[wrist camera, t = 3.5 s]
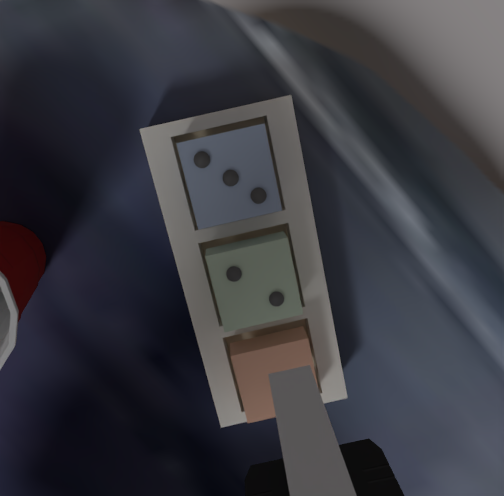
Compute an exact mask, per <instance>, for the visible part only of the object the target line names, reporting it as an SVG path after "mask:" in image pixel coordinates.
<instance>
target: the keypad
mask: <svg viewBox="0 0 504 496" xmlns="http://www.w3.org/2000/svg"><path fill="white" fill-rule="evenodd" d="M259 124H265V129H266V133H267V138H268V143H269V148H270V153H271V158H272V163H273V168H274V173H275V178H276V183H277V188H278V192H279V197H280V202H281V207H282V211H278V212H273V213H269V214H265V215H260V216H256V217H251V218H247V219H243V220H238V221H234V222H230V223H225V224H221V225H217V226H212V227H208V228H203V229H199V230H198V226H197V223H196V219H195V215H194V211H193V207H192V203H191V199H190V195H189V191H188V187H187V183H186V179H185V176H184V172H183V168H182V164H181V160H180V156H179V152H178V148H177V144H176V143H180V142H184V141H188V140H193V139H197V138H202V137H206V136H211V135H215V134H219V133H224V132H228V131H233V130H237V129H242V128H246V127H250V126H255V125H259ZM139 130H140V134H141V137H142V141H143V145H144V148H145V152H146V156H147V159H148V163H149V166H150V170H151V174H152V177H153V181H154V185H155V188H156V192H157V196H158V199H159V203H160V207H161V210H162V214H163V218H164V221H165V225H166V229H167V232H168V236H169V240H170V243H171V247H172V250H173V254H174V258H175V261H176V265H177V269H178V272H179V276H180V280H181V283H182V287H183V291H184V294H185V298H186V302H187V305H188V309H189V313H190V316H191V320H192V324H193V327H194V331H195V334H196V338H197V342H198V345H199V349H200V353H201V356H202V360H203V364H204V367H205V371H206V375H207V378H208V382H209V386H210V389H211V393H212V397H213V400H214V404H215V408H216V411H217V415H218V418H219V422H220V426H221V428H222V427H226V426H230V425H235V424H239V423H243V422H247V418H246V415H245V411H244V407H243V403H242V399H241V395H240V391H239V387H238V383H237V379H236V375H235V371H234V368H233V364H232V360H231V354H230V343H233V342H237V341H241V340H246V339H250V338H254V337H259V336H263V335H267V334H271V333H276V332H280V331H284V330H289V329H293V328H297V327H302V326H303V327H304V330H305V332H306V334H307V337H308V340H309V345H310V350H311V355H312V360H313V364H314V369H315V374H316V379H317V384H318V389H319V392H320V395H321V397H322V400H323V403H328V402H333V401H337V400H341V399H345V398H347V393H346V387H345V382H344V376H343V371H342V366H341V360H340V355H339V349H338V344H337V339H336V333H335V328H334V322H333V317H332V312H331V306H330V301H329V296H328V290H327V285H326V279H325V274H324V269H323V263H322V258H321V252H320V247H319V242H318V236H317V231H316V226H315V220H314V215H313V209H312V204H311V199H310V193H309V188H308V182H307V177H306V172H305V166H304V161H303V156H302V150H301V145H300V139H299V134H298V129H297V123H296V118H295V112H294V107H293V102H292V96H291V95H288V96H284V97H279V98H275V99H270V100H266V101H261V102H257V103H253V104H248V105H244V106H239V107H235V108H230V109H226V110H222V111H217V112H213V113H208V114H204V115H199V116H195V117H190V118H186V119H182V120H177V121H173V122H168V123H164V124H159V125H155V126H151V127H146V128H142V129H139ZM282 231H284V233H285V234H286V236H287V237H288V242H289V247H290V251H291V256H292V261H293V266H294V271H295V276H296V281H297V286H298V291H299V296H300V301H301V306H302V310H303V314H302V315H298V316H293V317H289V318H285V319H280V320H276V321H272V322H268V323H263V324H259V325H255V326H250V327H246V328H242V329H237V330H233V331H229V332H224V328H223V324H222V321H221V317H220V313H219V309H218V305H217V301H216V297H215V293H214V289H213V285H212V281H211V277H210V274H209V270H208V266H207V262H206V258H205V254H206V249H208V248H212V247H216V246H221V245H225V244H229V243H234V242H238V241H242V240H247V239H251V238H256V237H260V236H264V235H269V234H273V233H277V232H282Z"/></svg>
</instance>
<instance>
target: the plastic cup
mask: <svg viewBox="0 0 504 496" xmlns="http://www.w3.org/2000/svg"><path fill="white" fill-rule="evenodd" d="M45 263H46V254H45V251H44V247H43V244H42V242H41V241H40V240H39V239H38V237H37V236H36V235H35V234H34V232H32V231H30V230H29V229H27V228H25V227H24V226H22V225H19V224H15V223H10V222H4V221H0V369H1V368H2V366H3V364H4V363H5V361H6V360H7V358H8V356H9V355H10V353H11V352H12V350H13V348H14V347H15V344H16V339H17V326H18V322H19V320H20V318H21V314H22V312H23V310H24V308H25V307H26V305H27V303H28V301H29V300H30V298H31V296H32V294H33V293H34V291H35V289H36V288H37V286H38V282H39V280H40V278H41V277H42V275H43V274H44V270H45Z"/></svg>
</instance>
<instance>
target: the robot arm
mask: <svg viewBox="0 0 504 496" xmlns="http://www.w3.org/2000/svg"><path fill="white" fill-rule="evenodd" d="M268 375H269V381H270V387H271V392H272V398H273V403H274V409H275V415H276V420H277V426H278V432H279V437H280V443H281V448H282V454H283V459H278V460H274V461H269V462H265V463H260V464H255V465H251V466H250V469H249V471H248V474H247V476H246V478H245V494H246V496H404V494H403V492H402V490H401V488H400V486H399V484H398V482H397V480H396V478H395V476H394V473H393V471H392V469H391V467H390V466H389V463H388V461H387V459H386V457H385V455H384V453H383V451H382V449H381V448H380V447H378V446H377V445H376V444H375V443H374V442H372V441H371V440H370V439H365V440H360V441H355V442H351V443H346V444H342V445H338V442H337V439H336V437H335V434H334V431H333V428H332V425H331V423H330V420H329V417H328V414H327V411H326V409H325V406H324V403H323V400H322V397H321V395H320V392H319V389H318V386H317V383H316V381H315V378H314V375H313V372H312V369H311V367H310V365H307V366H303V367H298V368H293V369H289V370H284V371H280V372H275V373H270V374H268Z"/></svg>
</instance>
